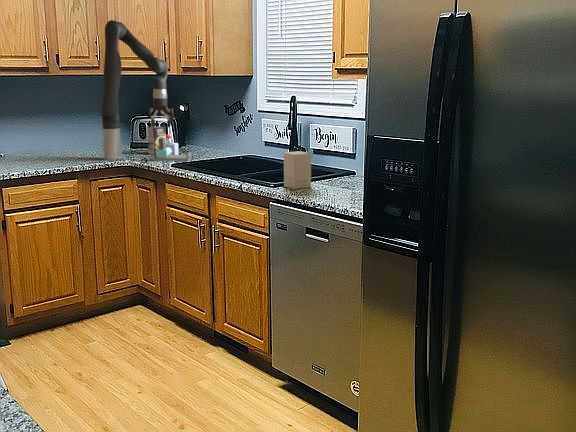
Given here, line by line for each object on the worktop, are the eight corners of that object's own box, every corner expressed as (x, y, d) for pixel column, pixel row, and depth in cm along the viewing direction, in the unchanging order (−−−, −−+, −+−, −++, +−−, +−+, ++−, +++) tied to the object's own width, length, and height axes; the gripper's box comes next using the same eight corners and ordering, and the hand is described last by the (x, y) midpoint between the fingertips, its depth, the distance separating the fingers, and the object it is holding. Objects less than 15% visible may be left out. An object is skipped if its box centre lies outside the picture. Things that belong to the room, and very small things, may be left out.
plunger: (165, 144, 362) (165, 134, 361) (167, 144, 366) (167, 134, 364) (171, 144, 362) (170, 134, 361) (173, 144, 365) (172, 134, 364)
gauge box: (161, 158, 362) (160, 144, 360) (165, 156, 369) (164, 142, 368) (174, 158, 361) (174, 144, 359) (178, 156, 368) (178, 142, 366)
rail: (153, 160, 353) (153, 152, 352) (157, 159, 358) (156, 151, 357) (188, 161, 350) (187, 153, 349) (191, 159, 356) (191, 151, 355)
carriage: (156, 157, 353) (155, 138, 350) (159, 156, 357) (158, 137, 355) (166, 157, 352) (165, 138, 349) (169, 156, 357) (168, 137, 354)
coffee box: (155, 155, 374) (154, 127, 370) (148, 154, 378) (146, 127, 374) (167, 153, 381) (165, 126, 378) (159, 152, 385) (158, 126, 381)
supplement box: (311, 187, 275) (311, 153, 272) (294, 189, 271) (294, 154, 267) (300, 184, 283) (300, 150, 279) (283, 186, 279) (283, 152, 275)
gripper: (174, 97, 349) (175, 127, 353) (150, 96, 351) (151, 126, 355) (170, 97, 342) (171, 128, 346) (145, 97, 344) (146, 127, 348)
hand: (161, 127), depth 350 cm, fingers open, 8 cm apart
